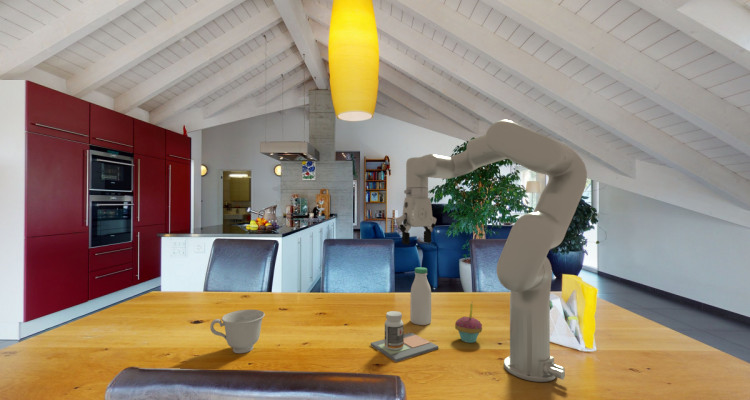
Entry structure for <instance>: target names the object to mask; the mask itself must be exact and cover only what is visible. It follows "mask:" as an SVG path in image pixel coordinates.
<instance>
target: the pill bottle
mask: <svg viewBox="0 0 750 400" xmlns="http://www.w3.org/2000/svg"><path fill="white" fill-rule="evenodd" d="M402 317H403V313H402V312H400V311H395V310H392V311H391V310H390V311H387V312H386V314H385V318H386V320H385V321H384V339H385V347H386V348H387V349H389V350H400V349H402V348H403V346H404V334H405V333H404V322H403V320H402Z"/></svg>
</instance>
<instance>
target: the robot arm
mask: <svg viewBox="0 0 750 400" xmlns="http://www.w3.org/2000/svg"><path fill="white" fill-rule="evenodd" d="M504 160H510V161H512V162H513V163H516V164H518V165H520V166H521V167H523V168H525V169H527V170H530V171H531V172H534V173H538V174H542V175H545V176H547V177H548V181H547V184H546V185H545V186H544V189H543V190H542V192H541V194H540V197H539V199H538V202H537V204H536V206H535V207H534V210H533V211H532V212H527V213H525V214H523V215H521V216H520V217H519V218H518V219H517V220H516V221H515V223H513V225H512V227H511V229H510V231H509V234H508V237H507V239H506V242H505V243H504V247H503V248H502V251H501V254H500V256H499V258H498V261H497V264H496V277H497V279H498V281H499V282H500V285H501V286H503V288H505V289H506V290H509V291H510V296H509V356H507V357H505V358H504V359H503V366H504V369H505V370H506V371H507V372H508V373H510V374H511V375H513V376H515V377H516V378H519V379H523V380H526V381H530V382H535V383H537V382H538V383H545V382H546V383H547V382H551V381H553V380H555V379H556V378H557V379H560V380H565V377H566V373H565V371H566V370H565V367H564V366H561V365H559V364H558V365H557V364H556V363H555V357H554V356H551V349H550V348H551V345H550V344H551V342H550V340H551V339H550V337H551V333H550V332H551V330H550V327H551V325H550V324H551V323H550V321H551V320H550V313H551V312H550V311H551V307H550V305H551V304H550V303H551V287H552V280H553V279H552V278H553V271H552V270H553V268H552V264H551V262H550V259H549V258H548V257H547V256H548V254H549V251H550V250H552V249H555V248H556V247H558V246H559V245H561V244H562V242H563V240H564V238H565V236H566V233H567V231H568V229H569V227H570V224H571V222H572V220H573V217H574V216H575V213H576V211H577V207H578V206H579V203H580V201H581V198H582V196H583V194H584V192H585V189H586V186H587V181H588V172H587V167H586V165H585V162H584V161H583V159H582V158H581V157H580V155H579V154H578V153H577V152H576V151H575V150H573V148H571V147H569V146H568V145H566V144H565V143H562V142H560V141H558V140H556V139H554V138H551V137H549V136H546V135H544V134H541V133H539V132H537V131H534V130H531V129H529V128H527V127H526V126H525V127H524V126H523V125H521V124H518V123H516V122H514V121H512V120H508V119H501V120H498V121H496V122H494V123H492V124H491V125H490V126H489V127H488V128H487V130H486V133H485V134H484V135H481V136H478V137H476V138H472V139H470V140H469V141H468V142H467V144H466V149H465V150H464V151H462V152H459V153H457V154H454V155H451V156H450V155H449V156H445V155H439V154H435V153H434V154H433V153H429V154H425V155H423V156H417V157H410V158H408V159H407V160H406V162H405V164H406V165H405V166H406V167H405V169H406V170H405V173H406V175H405V176H406V177H405V178H406V180H405V190H404V191H403V192H404V194H405V197H404V201H403V207H402V208H403V210H402V215H400V216H399V217H398V218H396V219H395V222H396V225H397V228H398V229H399V231H400V232H401V244H402V245H407V246H408V245H410V243H411V242H410V241H411V234H410V232H409V231H410V230H411V228H412V227H413V228H418V227H419V228H420V227H421V228H422V227H423V229H424V231H423V242H424V243H426V244H432V232H433V230H434V228H435V226H436V223H437V218H436V217H434V216H433V210H432V209H433V208H432V202H431V197H429V178H433V179H443V180H448V179H449V180H450V179H454V178H457V177H461V176H465V175H467V174H469V173H471V172H474V171H475V170H477V169H478V168H481V167H483V166H486V165H487V166H488V165H490V164H493V163H496V162H500V161H504Z"/></svg>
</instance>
